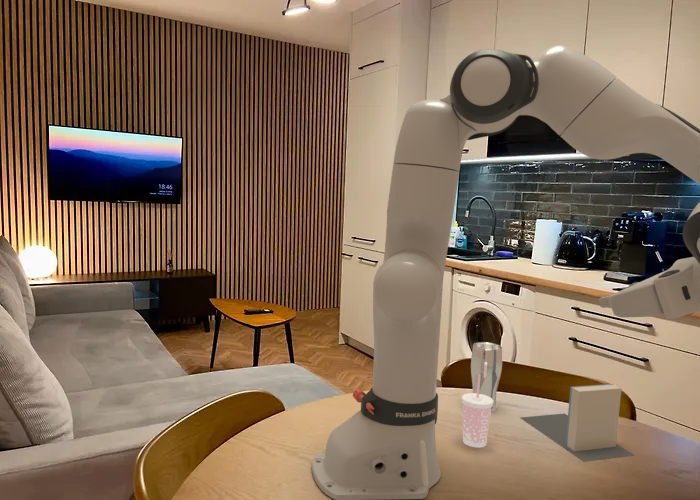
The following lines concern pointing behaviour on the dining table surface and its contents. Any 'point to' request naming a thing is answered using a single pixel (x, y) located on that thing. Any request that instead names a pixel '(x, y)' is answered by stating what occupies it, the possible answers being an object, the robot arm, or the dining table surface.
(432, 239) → the robot arm
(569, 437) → the tile
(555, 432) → the mat
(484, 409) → the beverage cup
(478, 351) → the beer glass
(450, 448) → the dining table surface
